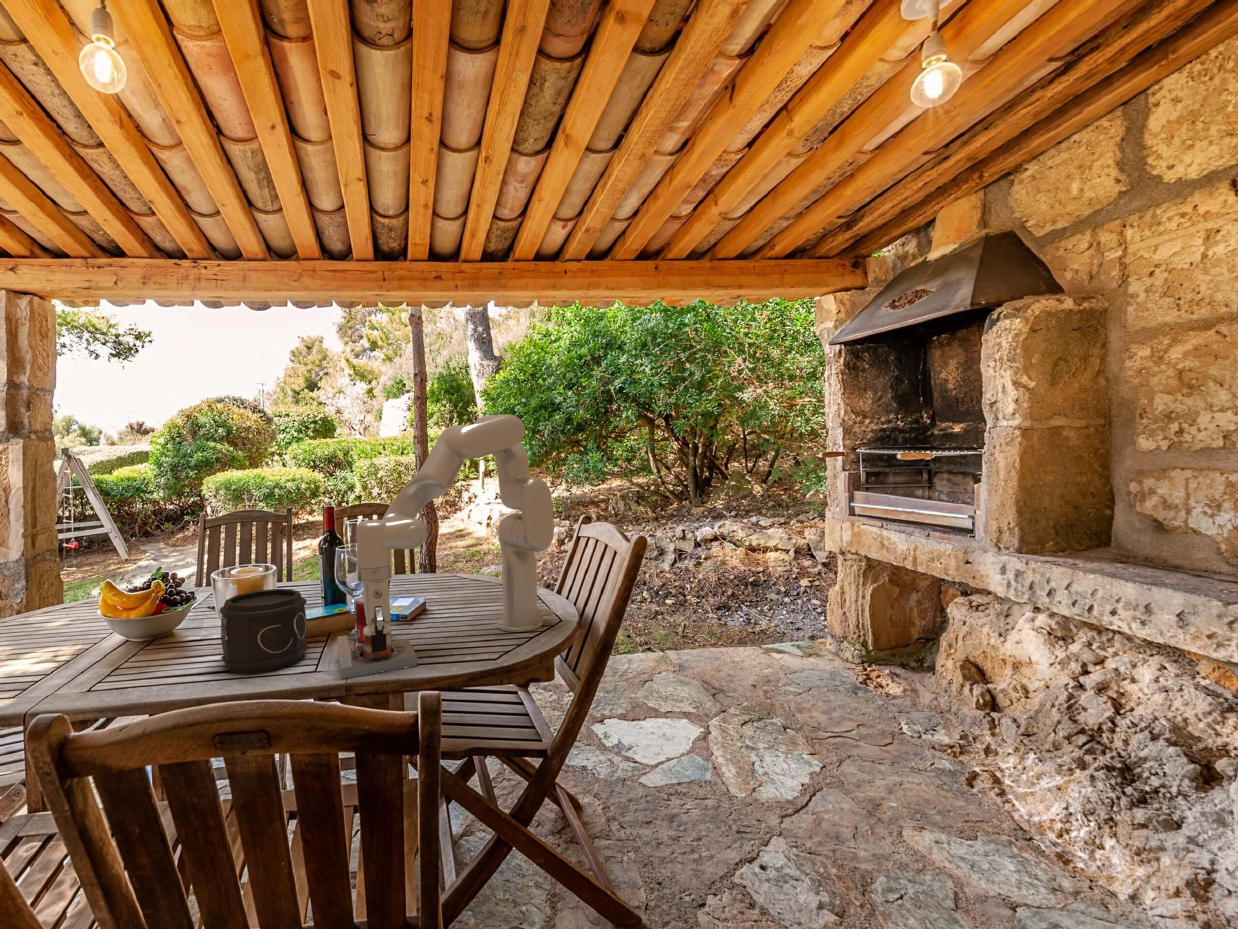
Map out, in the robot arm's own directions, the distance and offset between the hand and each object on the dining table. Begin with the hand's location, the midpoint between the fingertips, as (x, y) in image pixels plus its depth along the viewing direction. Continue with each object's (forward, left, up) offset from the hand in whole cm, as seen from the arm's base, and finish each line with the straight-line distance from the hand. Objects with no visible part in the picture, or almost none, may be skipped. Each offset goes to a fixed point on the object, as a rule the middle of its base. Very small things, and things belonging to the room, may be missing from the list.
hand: (376, 644), depth 144 cm
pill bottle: (0, 0, -4) cm, 5 cm away
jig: (0, 0, -4) cm, 4 cm away
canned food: (-1, -19, -4) cm, 20 cm away
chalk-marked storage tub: (+23, -14, -4) cm, 27 cm away
